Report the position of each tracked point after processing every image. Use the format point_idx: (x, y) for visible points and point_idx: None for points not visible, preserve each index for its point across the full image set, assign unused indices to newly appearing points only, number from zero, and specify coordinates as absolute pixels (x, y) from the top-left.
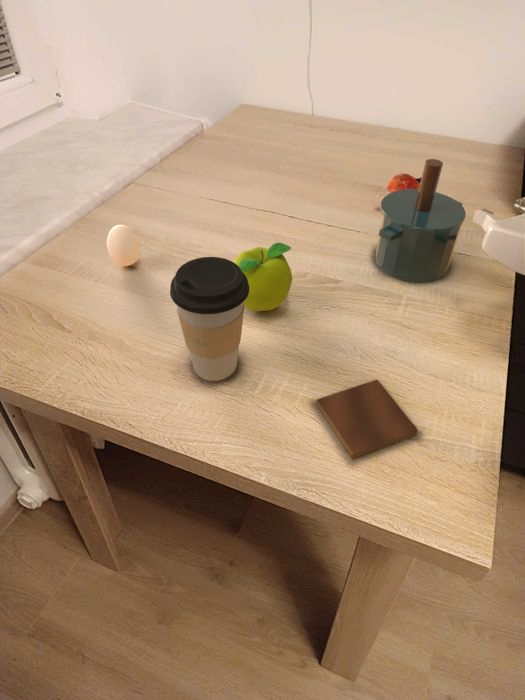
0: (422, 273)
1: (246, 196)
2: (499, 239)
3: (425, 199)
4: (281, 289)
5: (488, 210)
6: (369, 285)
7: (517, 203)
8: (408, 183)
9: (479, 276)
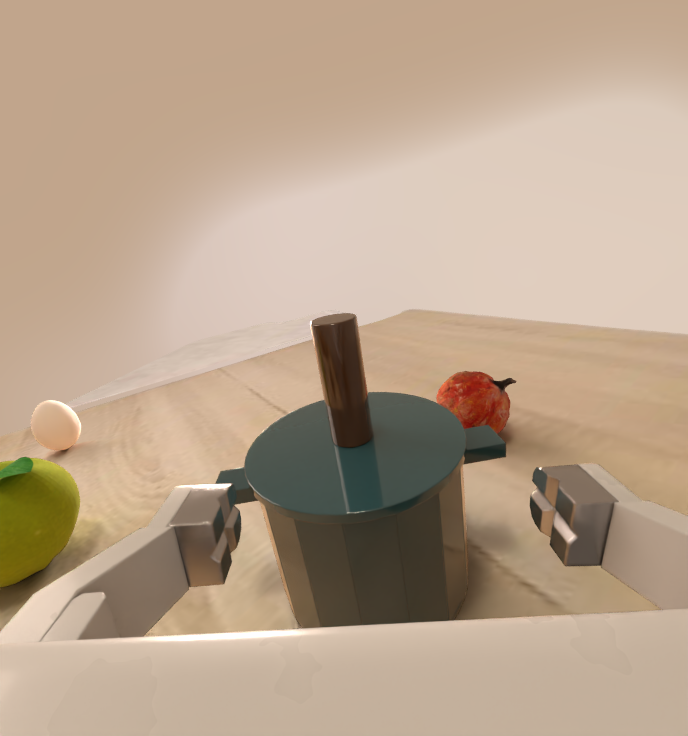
0: (317, 626)
1: (287, 389)
2: None
3: (331, 415)
4: None
5: (217, 500)
6: (218, 599)
7: (540, 489)
8: (467, 387)
9: None
